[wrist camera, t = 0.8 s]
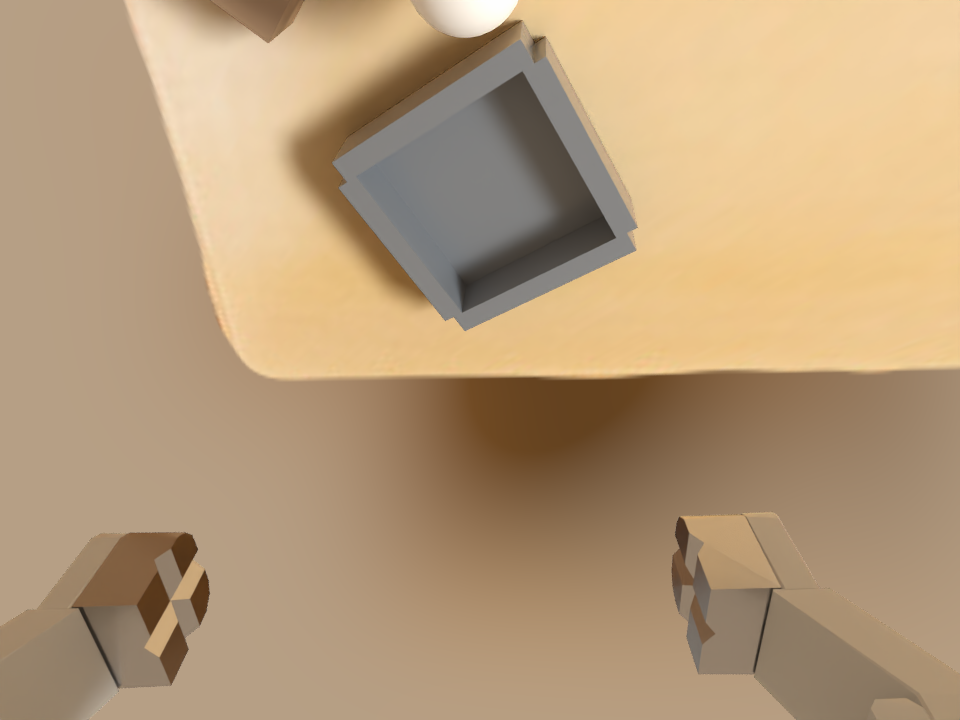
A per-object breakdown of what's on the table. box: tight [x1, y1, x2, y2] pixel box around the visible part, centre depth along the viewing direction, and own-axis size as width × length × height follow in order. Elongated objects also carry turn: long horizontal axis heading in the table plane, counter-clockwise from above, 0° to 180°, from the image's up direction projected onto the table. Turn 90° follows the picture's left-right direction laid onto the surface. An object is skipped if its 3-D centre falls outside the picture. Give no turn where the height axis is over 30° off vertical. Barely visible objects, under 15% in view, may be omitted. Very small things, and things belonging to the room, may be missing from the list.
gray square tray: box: [332, 20, 638, 331], centre depth 47 cm, size 16×16×4 cm
